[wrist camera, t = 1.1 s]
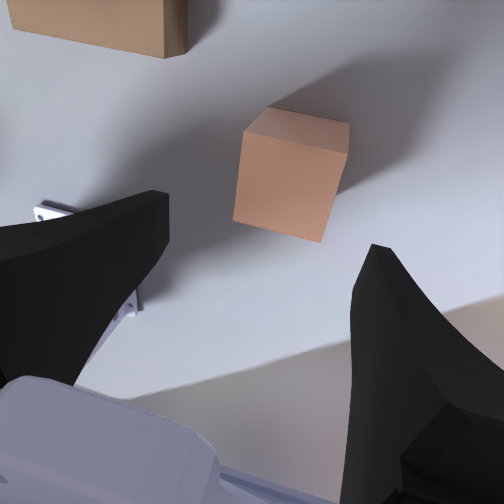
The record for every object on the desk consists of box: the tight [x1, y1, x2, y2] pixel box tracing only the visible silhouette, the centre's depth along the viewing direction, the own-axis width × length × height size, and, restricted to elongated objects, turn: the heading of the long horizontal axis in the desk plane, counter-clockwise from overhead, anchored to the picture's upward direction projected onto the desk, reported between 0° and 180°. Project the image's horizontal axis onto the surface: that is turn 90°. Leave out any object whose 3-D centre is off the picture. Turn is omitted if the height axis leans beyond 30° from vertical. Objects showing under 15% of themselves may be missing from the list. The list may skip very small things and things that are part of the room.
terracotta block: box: [233, 107, 350, 243], centre depth 18 cm, size 4×4×5 cm
